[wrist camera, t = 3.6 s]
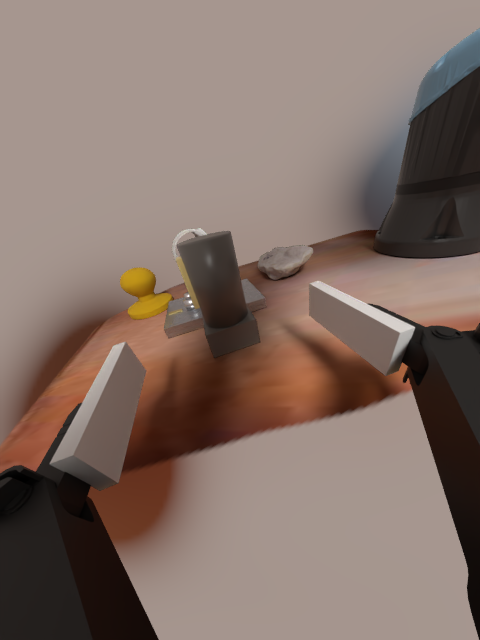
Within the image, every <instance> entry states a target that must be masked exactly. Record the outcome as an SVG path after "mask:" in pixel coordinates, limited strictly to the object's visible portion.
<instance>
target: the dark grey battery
mask: <svg viewBox="0 0 480 640" xmlns="http://www.w3.org/2000/svg"><path fill="white" fill-rule="evenodd" d="M177 248H178V251H179V253H180V257H177V258H176V262H177V264H178V267H179V269H180V272H181V274H182V277H183V279H184V282H185V285H186V287H187V290H188V292H189V295H190V297H191V300H192V302H193V305H194V308H195V309H198V308H200V310H201V312H202V317H203V323H204V329H205V335H206V338H207V341H208V343H209V346H210V348H211V351H212V353H213V356H214V358H215V357H218V356H221V355H224V354H227V353H230V352H233V351H236V350H239V349H242V348H245V347H247V346H250V345H253V344H256V343H259V342H260V338H259V333H258V327H257V322H256V319H255V317H254V316H253V314H252V313H251V311H250V310H249V308H248V307H247V305H246V301H245V297H244V292H243V287H242V283H241V278H240V273H239V269H238V264H237V259H236V255H235V250H234V245H233V240H232V236H231V232H230V231H224V232H217V233H212V234H207V235H203V236H199V237H196V238H192V239H189V240H187V241H184V242H182V243H179V244H178V245H177Z"/></svg>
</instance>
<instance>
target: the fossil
mask: <svg viewBox="0 0 480 640" xmlns="http://www.w3.org/2000/svg"><path fill="white" fill-rule="evenodd" d="M312 253H313V249H312V248H311V247H307V246H305V245H299V246H291V247H286V248H284V247H278V248H274V249H273V250H272V251H270V252H268V253H265V254H263V255H262V256H261V257H260V259H259V263H258V265H257V266H258V269H259V270H260V271H262V272H264V273H266V274H267V275H268V277H269V278H271V279H272V280H278V279H280V278H282V277H288V276H290V275H292V274H294V273H296V272H297V271H298V270H299V267H300V266H302V265H303V264H304V263H306V262H307V261H308V260H309V258H310V256H311V255H312Z"/></svg>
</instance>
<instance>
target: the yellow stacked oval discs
mask: <svg viewBox="0 0 480 640" xmlns="http://www.w3.org/2000/svg"><path fill="white" fill-rule="evenodd" d="M155 284H156V278H155V275H154V274H153V273H152V272H151V271H150V270H148V269H146V268H133V269H130V270H128V271H126V272H125V273H124V274H123V275H122V276H121V279H120V285H121V287H122V289H123V290H124V291H126V292H127V293H129V294H131V295H133V296H136V297H138V299H139V301H137V302H136V303H134V304H133V305H132V306H131V307H130V308H129V309H128V314H129V315H130V317H131V318H132V319H145V318H149V317H152V316H155V315H157V314H159V313H161V312H163V311H165V310H166V309H168V304H169V302H170V301H173V298H172V296H171V294H168V293H159V294H155V293H154V287H155Z"/></svg>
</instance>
